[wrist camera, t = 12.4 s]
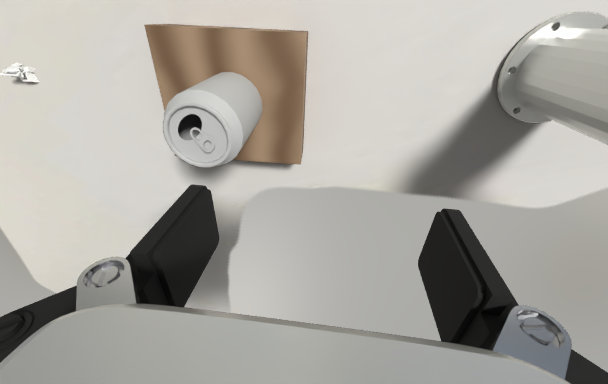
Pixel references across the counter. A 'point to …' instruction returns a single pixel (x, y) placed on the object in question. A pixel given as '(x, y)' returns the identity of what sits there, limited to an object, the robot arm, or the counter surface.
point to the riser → (249, 63)
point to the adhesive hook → (21, 72)
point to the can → (212, 119)
